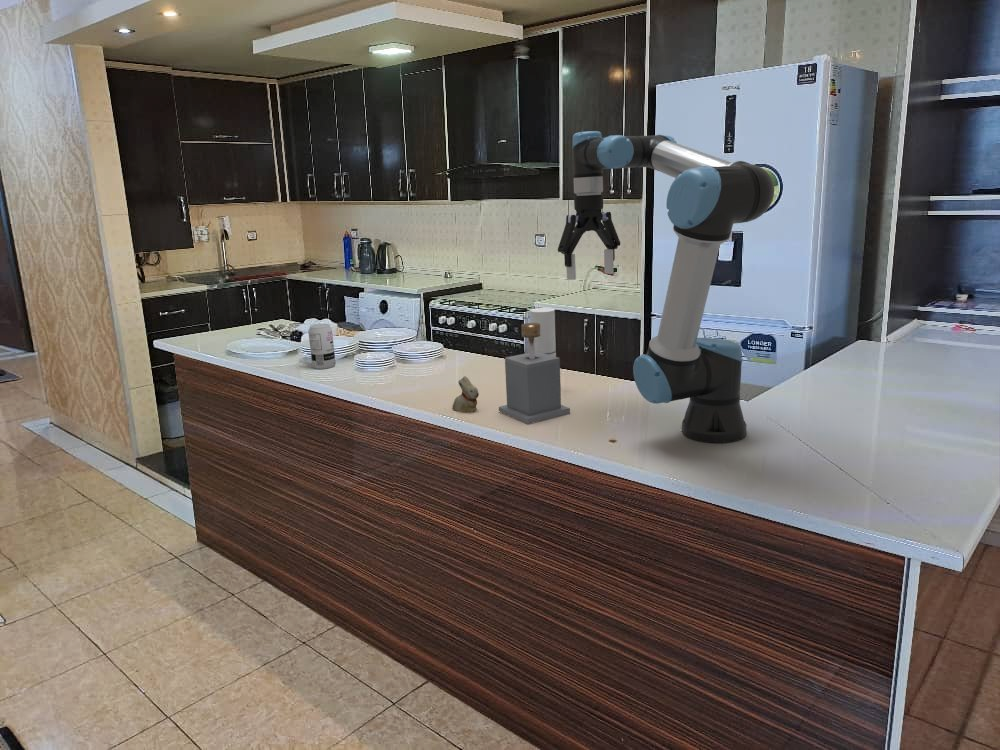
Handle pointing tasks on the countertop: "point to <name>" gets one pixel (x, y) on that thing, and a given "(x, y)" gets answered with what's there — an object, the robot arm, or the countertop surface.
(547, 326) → the cylindrical container
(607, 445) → the countertop surface
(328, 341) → the supplement can
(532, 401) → the block
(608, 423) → the countertop surface
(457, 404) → the chocolate bunny
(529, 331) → the plunger
